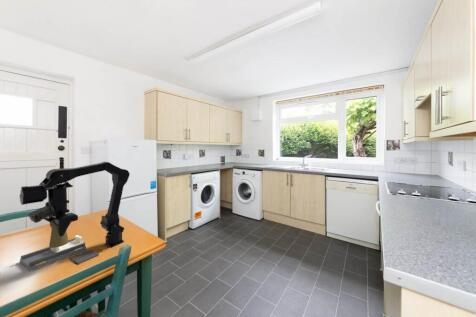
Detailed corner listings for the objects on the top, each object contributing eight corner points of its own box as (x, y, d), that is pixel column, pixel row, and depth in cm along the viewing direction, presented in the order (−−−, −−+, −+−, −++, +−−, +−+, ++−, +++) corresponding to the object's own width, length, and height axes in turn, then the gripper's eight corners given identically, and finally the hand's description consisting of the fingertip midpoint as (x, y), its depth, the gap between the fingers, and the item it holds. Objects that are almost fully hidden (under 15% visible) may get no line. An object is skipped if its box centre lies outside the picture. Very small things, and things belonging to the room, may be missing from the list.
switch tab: (76, 241, 96) (76, 234, 96) (83, 244, 93) (83, 238, 93) (50, 250, 88) (50, 242, 87) (57, 254, 84) (57, 247, 84)
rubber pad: (90, 250, 92) (90, 249, 92) (99, 255, 88) (99, 254, 88) (69, 258, 84) (69, 257, 84) (78, 264, 81) (78, 263, 81)
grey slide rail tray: (74, 243, 98) (74, 237, 98) (86, 249, 92) (86, 243, 92) (20, 262, 81) (19, 255, 81) (30, 271, 75) (30, 264, 75)
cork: (72, 240, 84) (71, 216, 83) (60, 247, 78) (59, 221, 77) (58, 240, 83) (57, 216, 83) (44, 247, 77) (43, 221, 77)
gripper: (21, 200, 76) (22, 237, 77) (41, 208, 68) (42, 249, 69) (56, 194, 86) (58, 227, 87) (78, 200, 78) (79, 236, 79)
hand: (59, 234), depth 80 cm, fingers closed on cork, 4 cm apart
